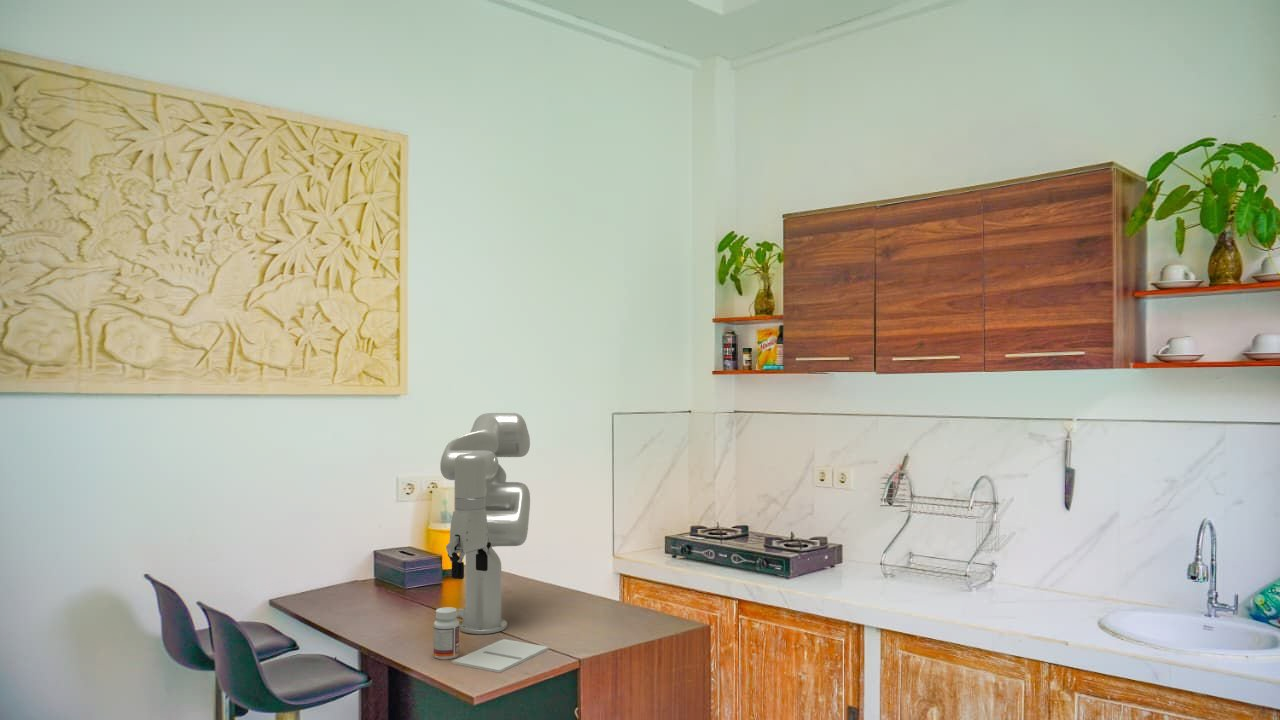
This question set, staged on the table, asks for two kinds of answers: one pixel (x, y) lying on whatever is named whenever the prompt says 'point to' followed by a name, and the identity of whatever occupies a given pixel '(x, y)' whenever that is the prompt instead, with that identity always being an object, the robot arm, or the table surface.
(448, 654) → the pill bottle
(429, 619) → the table surface
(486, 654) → the mat
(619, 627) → the table surface
